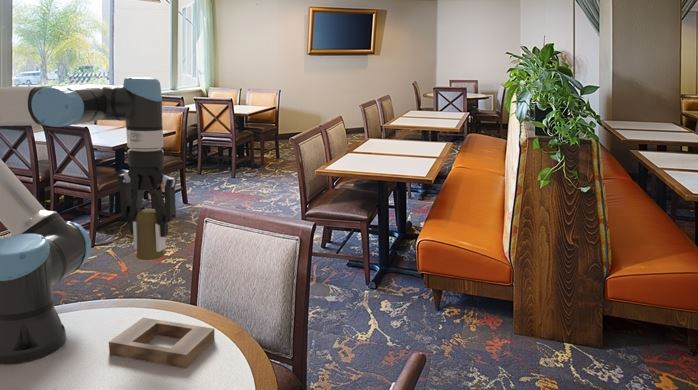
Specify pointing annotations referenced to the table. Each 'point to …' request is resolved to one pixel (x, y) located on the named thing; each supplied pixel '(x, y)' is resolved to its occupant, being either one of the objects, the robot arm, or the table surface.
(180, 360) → the brown picture frame
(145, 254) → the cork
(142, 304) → the table surface
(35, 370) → the table surface
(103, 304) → the table surface
